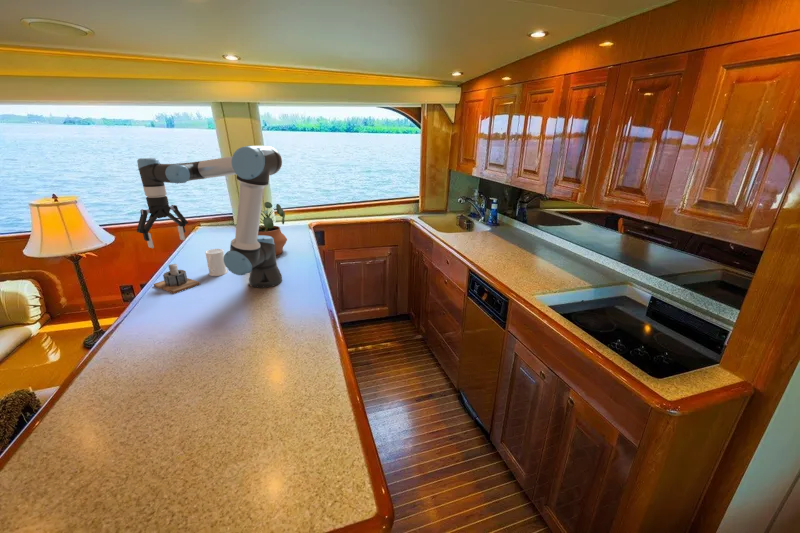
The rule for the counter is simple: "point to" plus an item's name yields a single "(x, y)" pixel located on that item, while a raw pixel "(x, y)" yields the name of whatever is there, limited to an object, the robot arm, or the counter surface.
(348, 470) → the counter surface
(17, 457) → the counter surface
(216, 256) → the mug
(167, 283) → the ring
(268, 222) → the potted plant
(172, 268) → the post block
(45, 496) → the counter surface
